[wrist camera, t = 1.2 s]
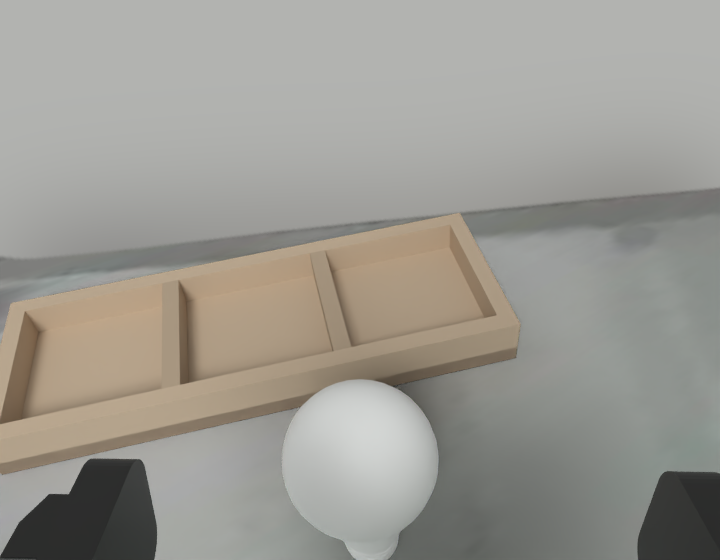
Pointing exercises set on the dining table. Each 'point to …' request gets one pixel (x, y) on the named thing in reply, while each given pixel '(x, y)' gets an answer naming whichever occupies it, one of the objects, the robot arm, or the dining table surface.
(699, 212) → the dining table surface
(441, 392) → the dining table surface
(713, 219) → the dining table surface
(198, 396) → the wooden compartment tray
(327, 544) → the dining table surface
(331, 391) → the lightbulb
